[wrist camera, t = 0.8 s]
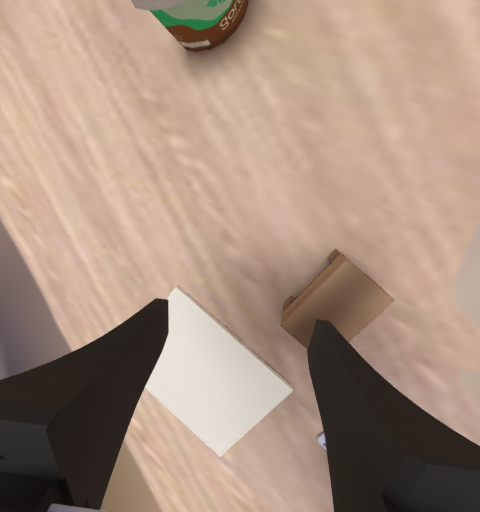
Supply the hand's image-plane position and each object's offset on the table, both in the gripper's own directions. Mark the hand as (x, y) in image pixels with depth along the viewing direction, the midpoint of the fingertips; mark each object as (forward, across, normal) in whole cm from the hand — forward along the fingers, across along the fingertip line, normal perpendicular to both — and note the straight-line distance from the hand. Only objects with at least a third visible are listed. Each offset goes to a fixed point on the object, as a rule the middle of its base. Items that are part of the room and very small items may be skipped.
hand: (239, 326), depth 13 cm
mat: (+13, +4, +19) cm, 24 cm away
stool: (+14, -9, +6) cm, 18 cm away
